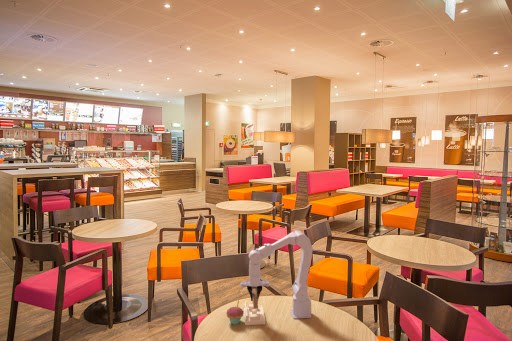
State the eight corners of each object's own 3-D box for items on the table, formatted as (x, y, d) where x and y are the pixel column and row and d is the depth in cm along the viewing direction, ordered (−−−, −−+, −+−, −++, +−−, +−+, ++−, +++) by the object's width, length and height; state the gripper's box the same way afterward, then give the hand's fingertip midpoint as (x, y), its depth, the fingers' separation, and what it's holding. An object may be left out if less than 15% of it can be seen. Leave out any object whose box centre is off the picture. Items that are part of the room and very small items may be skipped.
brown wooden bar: (255, 297, 166) (255, 288, 166) (257, 308, 155) (257, 298, 155) (251, 297, 166) (251, 288, 166) (253, 308, 155) (253, 298, 155)
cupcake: (244, 317, 161) (244, 295, 160) (242, 327, 153) (242, 303, 152) (228, 316, 162) (228, 294, 161) (224, 326, 154) (224, 302, 153)
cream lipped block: (262, 310, 168) (262, 302, 168) (265, 324, 155) (265, 314, 155) (243, 311, 167) (243, 302, 167) (245, 325, 154) (245, 315, 154)
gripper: (267, 270, 164) (267, 295, 165) (240, 271, 163) (240, 296, 164) (269, 276, 157) (269, 302, 158) (240, 277, 156) (240, 303, 157)
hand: (254, 300), depth 161 cm, fingers closed on brown wooden bar, 2 cm apart
